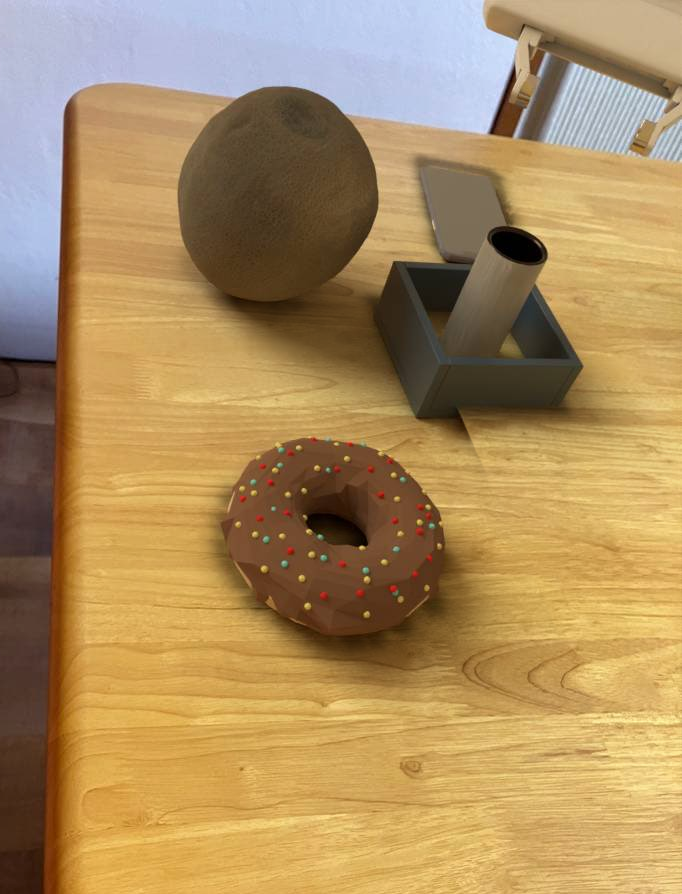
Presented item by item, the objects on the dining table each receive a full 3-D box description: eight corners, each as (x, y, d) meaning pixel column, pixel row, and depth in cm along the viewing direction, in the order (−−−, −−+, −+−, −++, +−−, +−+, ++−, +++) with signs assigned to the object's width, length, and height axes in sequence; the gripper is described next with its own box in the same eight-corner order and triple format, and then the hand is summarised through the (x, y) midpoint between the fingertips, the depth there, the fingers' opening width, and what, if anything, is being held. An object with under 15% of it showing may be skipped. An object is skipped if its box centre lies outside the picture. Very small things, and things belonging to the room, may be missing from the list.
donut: (241, 451, 59) (255, 397, 56) (435, 505, 60) (462, 455, 56) (192, 625, 50) (204, 575, 47) (421, 685, 51) (452, 641, 47)
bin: (499, 319, 75) (526, 266, 71) (551, 417, 68) (584, 366, 64) (373, 315, 72) (393, 260, 68) (415, 418, 65) (440, 364, 61)
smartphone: (492, 176, 88) (523, 266, 79) (488, 185, 89) (518, 275, 79) (419, 163, 86) (442, 253, 77) (416, 172, 87) (439, 262, 78)
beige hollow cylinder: (432, 365, 68) (484, 251, 60) (439, 330, 71) (489, 217, 63) (488, 383, 68) (547, 272, 60) (493, 348, 71) (550, 237, 63)
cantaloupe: (194, 349, 65) (227, 158, 53) (150, 232, 72) (171, 43, 61) (366, 340, 69) (431, 163, 58) (308, 232, 77) (356, 56, 65)
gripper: (535, -141, 61) (449, 53, 62) (821, -35, 59) (725, 163, 60) (522, -83, 67) (444, 92, 68) (780, 15, 65) (694, 193, 67)
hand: (578, 126), depth 64 cm, fingers open, 8 cm apart
